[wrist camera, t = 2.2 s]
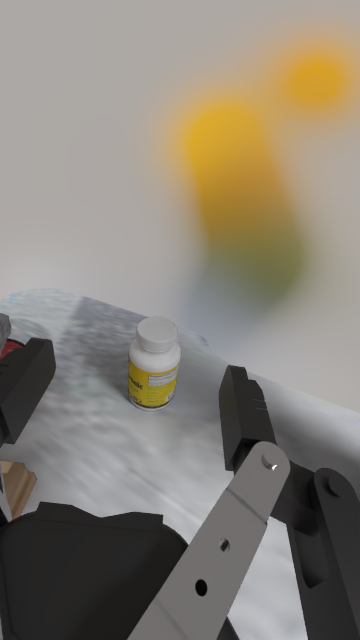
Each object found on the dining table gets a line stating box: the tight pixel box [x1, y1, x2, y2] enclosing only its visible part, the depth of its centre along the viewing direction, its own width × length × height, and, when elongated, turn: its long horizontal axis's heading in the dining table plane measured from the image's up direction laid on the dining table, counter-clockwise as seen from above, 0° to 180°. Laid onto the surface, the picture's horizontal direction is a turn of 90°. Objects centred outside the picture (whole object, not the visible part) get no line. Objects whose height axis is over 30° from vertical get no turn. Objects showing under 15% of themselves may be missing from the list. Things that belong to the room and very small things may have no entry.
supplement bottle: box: [128, 317, 181, 411], centre depth 29 cm, size 5×5×10 cm
